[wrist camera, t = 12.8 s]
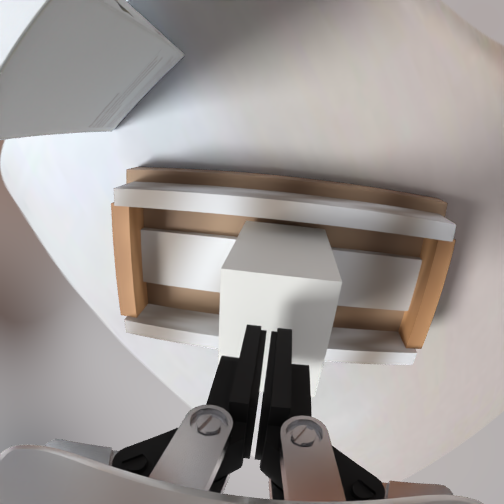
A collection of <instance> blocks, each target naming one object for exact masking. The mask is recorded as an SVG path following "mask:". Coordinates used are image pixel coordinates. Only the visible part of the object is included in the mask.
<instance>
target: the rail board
mask: <svg viewBox="0 0 504 504" xmlns="http://www.w3.org/2000/svg"><path fill="white" fill-rule="evenodd" d="M446 209H447V203H446V202H444V201H442V200H440V199H438V198H433V197H428V196H422V195H417V194H411V193H406V192H400V191H394V190H388V189H381V188H375V187H368V186H362V185H355V184H347V183H340V182H332V181H324V180H316V179H308V178H299V177H289V176H280V175H269V174H258V173H246V172H233V171H219V170H202V169H183V168H156V167H135V168H131V169H127V184H125V185H122V186H119V187H116V188H114V202H113V203H111V210H112V230H113V245H114V257H115V268H116V278H117V287H118V296H119V304H120V311H121V315H124V316H127V317H126V318H125V320H124V322H125V329H126V333H131V334H135V335H140V336H145V337H150V338H155V339H160V340H165V341H171V342H176V343H182V344H188V345H193V346H199V347H206V348H212V349H219V312H220V283H221V268H222V266H223V264H224V262H225V260H226V258H227V256H228V254H229V252H230V250H231V249H232V247H233V245H234V243H235V241H236V239H237V237H238V235H239V233H240V231H241V230H242V228H243V226H244V224H245V222H246V221H254V222H264V223H273V224H282V225H292V226H301V227H309V228H318V229H325V231H326V234H327V237H328V240H329V243H330V246H331V249H332V252H333V255H334V258H335V261H336V264H337V267H338V270H339V274H340V277H341V280H342V285H341V290H340V295H339V299H338V304H337V309H336V313H335V318H334V322H333V327H332V331H331V335H330V339H329V343H328V347H327V351H326V355H325V359H324V361H326V362H341V363H359V364H385V365H412V364H413V362H414V360H415V357H416V355H417V352H416V350H415V349H422V346H423V343H424V341H425V338H426V336H427V333H428V330H429V327H430V325H431V322H432V319H433V316H434V313H435V310H436V307H437V304H438V301H439V298H440V295H441V292H442V289H443V285H444V282H445V279H446V275H447V272H448V268H449V265H450V261H451V257H452V253H453V249H454V245H455V241H456V240H455V239H453V238H454V233H455V229H456V224H455V223H453V222H451V221H450V220H448V219H447V218H445V214H446Z"/></svg>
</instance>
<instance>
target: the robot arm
mask: <svg viewBox="0 0 504 504" xmlns="http://www.w3.org/2000/svg"><path fill="white" fill-rule="evenodd" d="M266 333H267V330H261V326H257V325H249V324H247V326H246V331H245V335H244V339H243V344H242V348H241V352H240V356H239V358H237V357H229V356H221V359H220V362H219V365H218V368H217V372H216V375H215V378H214V381H213V384H212V388H211V391H210V394H209V397H208V401H207V404H206V405H201V406H198V407H195V408H193V409H192V410H190V411H189V412H188V413H187V415H186V416H185V418H184V420H183V421H182V423H181V425H180V426H179V428H176V429H174V430H171V431H169V432H166V433H164V434H161V435H159V436H156V437H153V438H151V439H148V440H145V441H143V442H140V443H137V444H134V445H132V446H129V447H126V448H124V449H122V450H120V451H113V450H112V448H111V447H103V446H96V445H90V444H84V443H78V442H72V441H67V440H60V439H55V440H52V441H50V442H48V443H47V444H46V445H45V446H39V445H17V446H13V447H10V448H8V449H6V450H5V451H3V452H2V453H1V454H0V504H483V503H481V502H480V501H477V500H475V499H471V498H468V497H462V496H455V495H453V493H452V492H451V491H450V489H449V488H447V487H446V486H443V485H439V484H438V485H437V484H420V483H408V482H397V481H389V482H388V483H382V482H381V481H380V480H379V479H378V478H377V477H375V476H374V475H372V474H371V473H369V472H368V471H366V470H365V469H364V468H362V467H361V466H359V465H358V464H357V463H355V462H354V461H352V460H351V459H350V458H348V457H347V456H345V455H344V454H343V453H341V452H340V451H339V450H337V449H336V448H335V447H333V446H332V445H331V441H330V437H329V433H328V430H327V428H326V426H325V425H324V424H323V423H322V422H321V421H319V420H318V419H316V418H313V417H311V390H310V369H309V365H300V364H292V329H284V328H277V332H276V331H271V338H270V346H269V354H268V362H267V369H266V377H265V384H264V392H263V400H262V408H261V416H260V423H259V431H258V438H257V446H256V453H255V459H257V460H261V462H260V468H261V469H260V470H261V471H262V472H263V473H264V474H265V475H266V476H268V477H269V482H268V483H269V493H270V499H260V498H251V497H243V496H235V495H228V494H223V492H224V490H225V487H226V485H227V483H228V480H229V478H230V473H232V472H233V471H235V470H237V469H239V468H241V466H242V463H243V458H248V459H249V458H250V453H251V446H252V439H253V432H254V426H255V419H256V412H257V405H258V397H259V390H260V383H261V375H262V366H263V358H264V350H265V341H266Z"/></svg>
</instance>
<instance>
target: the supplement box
mask: <svg viewBox="0 0 504 504" xmlns="http://www.w3.org/2000/svg"><path fill="white" fill-rule="evenodd" d="M183 57H184V53H183V52H182V51H181V50H180V49H179V48H177V47H176V46H175V45H174V44H173V43H172V42H171V41H170V40H168V39H167V38H166V37H165V36H164V35H163V34H162V33H161V32H160V31H159V30H158V29H156V28H155V27H154V26H153V25H152V24H151V23H150V22H149V21H148V20H147V19H146V18H144V17H143V16H142V15H141V14H140V13H139V12H138V11H136V10H135V9H134V8H133V7H132V6H131V5H130V4H129V3H128V2H127V1H126V0H0V140H5V139H11V138H21V137H30V136H40V135H52V134H65V133H81V132H106V131H110V132H111V131H113V130H114V129H115V128H116V127H117V126H118V124H119V123H120V122H121V121H122V120H123V119H124V118H125V116H126V115H127V114H128V113H129V112H130V111H131V110H132V109H133V107H134V106H135V105H136V104H137V103H138V102H139V101H140V100H141V99H142V98H143V97H144V96H145V95H146V94H147V93H148V92H149V91H150V90H151V89H152V88H153V87H154V85H155V84H156V83H157V82H158V81H159V80H160V79H161V78H163V76H164V75H165V74H166V73H167V72H168V71H169V70H170V69H172V68H173V67H174V66H175V65H176V64H177V63H178V62H179V61H180V60H181V59H182V58H183Z"/></svg>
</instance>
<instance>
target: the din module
mask: <svg viewBox="0 0 504 504" xmlns="http://www.w3.org/2000/svg"><path fill="white" fill-rule="evenodd" d="M341 285H342V280H341V277H340V274H339V270H338V267H337V264H336V261H335V258H334V255H333V252H332V249H331V246H330V243H329V240H328V237H327V234H326V231H325V229H318V228H309V227H301V226H292V225H282V224H273V223H264V222H254V221H246V222H245V224H244V226H243V228H242V230H241V231H240V233H239V235H238V237H237V239H236V241H235V243H234V245H233V247H232V249H231V250H230V252H229V254H228V256H227V258H226V260H225V262H224V264H223V266H222V268H221V283H220V312H219V349H218V365H219V362H220V359H221V356H229V357H237V358H239V356H240V352H241V348H242V344H243V339H244V335H245V331H246V326H247V324H249V325H257V326H261V330H267V333H266V341H265V350H264V358H263V366H262V375H261V383H260V390H259V392H264V384H265V377H266V369H267V362H268V354H269V346H270V338H271V331H276V332H277V328H284V329H292V364H300V365H309V369H310V390H311V397H315V393H316V389H317V386H318V382H319V378H320V375H321V371H322V367H323V363H324V359H325V355H326V351H327V347H328V343H329V339H330V335H331V331H332V327H333V322H334V318H335V313H336V309H337V304H338V299H339V295H340V290H341Z"/></svg>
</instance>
